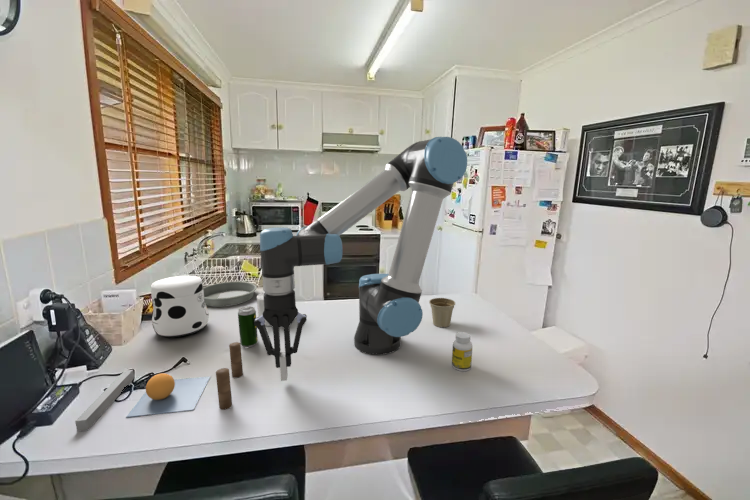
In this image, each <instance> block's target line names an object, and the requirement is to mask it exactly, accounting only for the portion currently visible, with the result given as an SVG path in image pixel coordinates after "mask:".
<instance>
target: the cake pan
mask: <svg viewBox="0 0 750 500" xmlns="http://www.w3.org/2000/svg"><path fill="white" fill-rule="evenodd" d="M203 291H204V301H205V304H206V307H217V308H218V307H230V306H235V305H238V304H243V303H246V302H248V301H250V300H251V299H253V298H254V294H255V291H257V285H256V284H254V283H253V282H247V281H225V282H219V283H214V284H211V285H206V286H203ZM233 291H238V292H239V291H240V292H247V293H244V294H241V295H236V296H228V297H219V296H220V295H221V294H222V293H225V292H233Z"/></svg>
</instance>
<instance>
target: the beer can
mask: <svg viewBox="0 0 750 500" xmlns="http://www.w3.org/2000/svg"><path fill="white" fill-rule="evenodd" d="M237 310H238V311H237V318H238V319H237V321H238V330H239V331H238V332H239V343H240V344H241V347H242V348H245V347H249V348H252V346H253V347H255V346H256V345H257V344H258V343H259V337H258V328H257V327H256V326H255V325H254V321H255V319H256V318H257V311H256V308H255V307H254V306H251V305H250V306H247V305H246V306H242V307H240V308H239V309H237Z"/></svg>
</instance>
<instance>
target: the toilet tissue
mask: <svg viewBox="0 0 750 500" xmlns="http://www.w3.org/2000/svg"><path fill="white" fill-rule="evenodd" d="M264 293H265V292H264V291H263V292H261V293H258V294H257V295H256V305H257V317H260V316H262V315H263V312H264ZM265 326H266V327H272V326H271V325H270V324H269V323H268V322H267V321H266V320H265Z"/></svg>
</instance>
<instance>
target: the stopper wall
mask: <svg viewBox="0 0 750 500" xmlns="http://www.w3.org/2000/svg"><path fill="white" fill-rule="evenodd" d="M134 379H135V373H134V369H125V370H124V371H123V372H121V373H120V375H119V376H117V378H116V379H115V380H114V381H113V382H112V383H111V384H110V385H109V386H108V387H107V388H106V389H105V390H104V391H103V392H102V393H101V394H100V395H99V396H98V397H97V398H96V399H95V400H94V401H93V402H92V403H91V404H90V405H89V406H88V407H87V408H86V410H85V411H84V412H83V413H82V414H81V415H79V417H77V418H76V420H75V421H74V423H75V427H76V432H83V431H84V432H85V431H89V430H90V429H91V428H92V426H93V425H94V424H95V423H96V422H97V421H98V420H99V418H101V417H102V415H103V414H104V413H105V412H106V411H107V410H108V408H109V407H111V405H112V404H113V403H114V401H115V400H116V399H117V398H119V397H120V395H121V394H122V393H123V391H124V390H125V389H124V387H126V386H127V385H128V386H129V385H130V384H131V383H132V382H133V380H134ZM128 386H127V387H128ZM127 387H126V388H127ZM123 389H124V390H123ZM122 390H123V391H122ZM121 392H122V393H121Z"/></svg>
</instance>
